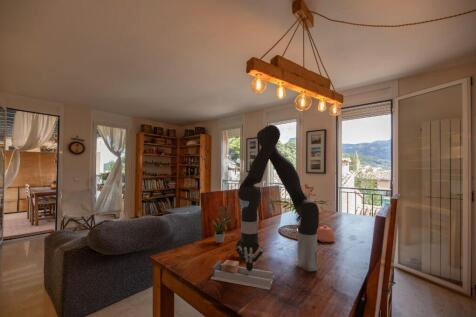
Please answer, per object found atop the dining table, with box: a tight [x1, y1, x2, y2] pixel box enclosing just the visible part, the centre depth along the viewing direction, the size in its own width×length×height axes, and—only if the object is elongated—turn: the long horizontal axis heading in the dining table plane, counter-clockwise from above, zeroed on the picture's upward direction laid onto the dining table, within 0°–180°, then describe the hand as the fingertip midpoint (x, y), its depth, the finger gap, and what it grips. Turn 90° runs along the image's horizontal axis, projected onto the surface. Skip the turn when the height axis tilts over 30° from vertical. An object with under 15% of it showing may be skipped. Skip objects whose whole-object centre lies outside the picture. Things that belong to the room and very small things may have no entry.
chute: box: [210, 259, 275, 290], centre depth 97 cm, size 26×12×5 cm, turn 71°
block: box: [222, 259, 240, 274], centre depth 99 cm, size 6×5×5 cm
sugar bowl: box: [317, 224, 336, 243], centre depth 151 cm, size 12×14×10 cm
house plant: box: [211, 217, 232, 242], centre depth 146 cm, size 14×14×16 cm
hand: (249, 270), depth 97 cm, fingers closed
